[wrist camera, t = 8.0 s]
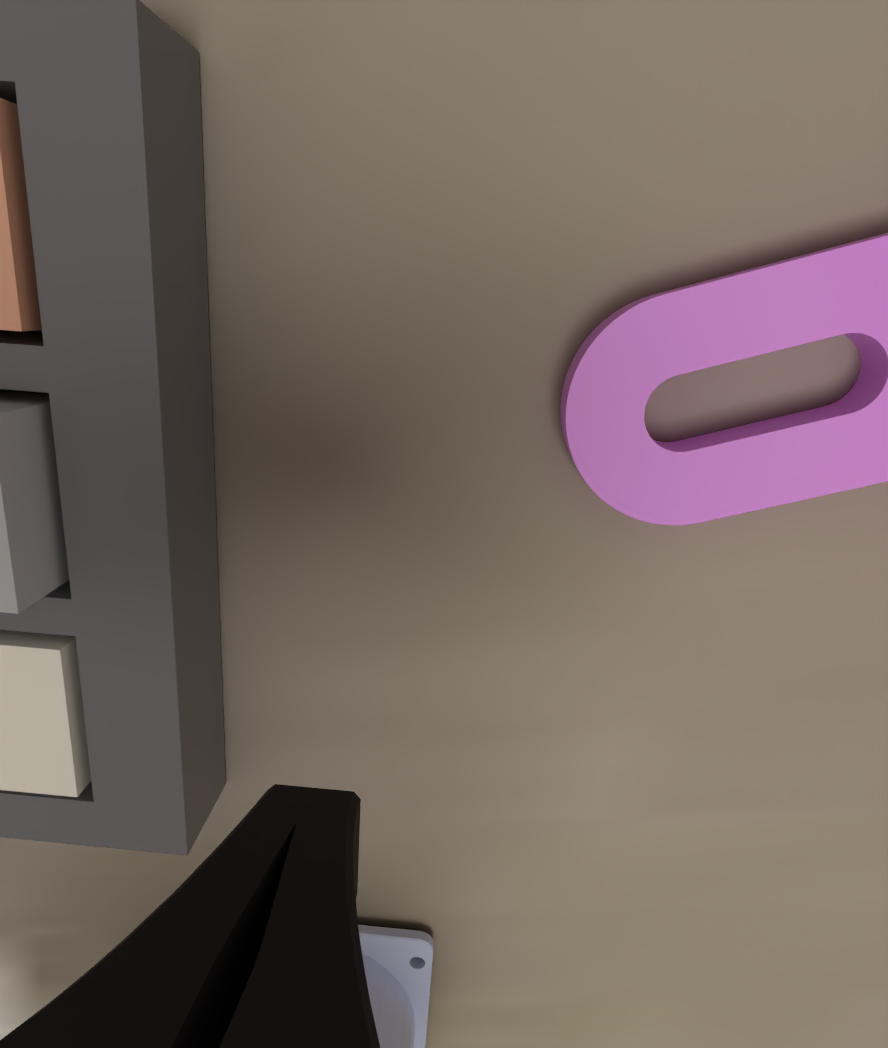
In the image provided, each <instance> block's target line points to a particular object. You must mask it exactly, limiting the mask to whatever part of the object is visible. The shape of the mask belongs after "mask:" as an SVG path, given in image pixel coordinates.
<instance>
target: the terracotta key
mask: <svg viewBox="0 0 888 1048" xmlns="http://www.w3.org/2000/svg"><path fill="white" fill-rule="evenodd" d="M0 330H10V331H36V330H42V326H41V316H40V307H39V298H38V289H37V280H36V271H35V262H34V253H33V243H32V234H31V225H30V216H29V207H28V198H27V189H26V180H25V170H24V161H23V152H22V143H21V134H20V125H19V116H18V107H17V104H14V103H12V102H10V101H7V100H5V99H2V98H0Z"/></svg>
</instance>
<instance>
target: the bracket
mask: <svg viewBox="0 0 888 1048" xmlns="http://www.w3.org/2000/svg"><path fill="white" fill-rule="evenodd" d="M841 334H844V335H846V336H847V337H849V338H850V339H851V340H852V341H853V342H854V343H855V345H856V347H857V349H858V351H859V354H860V360H861V367H860V372H859V376H858V378H857V380H856V383H855V384H854V386H853V387H852V389H851V390H850V391H849V392H848V393H847V394H846V395H845V396H844V397H843V398H841V399H840V400H838V401H837V402H835V403H832V404H830V405H827V406H823V407H819V408H814V409H810V410H806V411H802V412H798V413H793V414H789V415H785V416H781V417H776V418H772V419H768V420H764V421H759V422H755V423H751V424H747V425H742V426H738V427H734V428H730V429H726V430H721V431H717V432H713V433H709V434H704V435H700V436H696V437H692V438H687V439H683V440H679V441H674V442H660V441H656V440H654V439H652V438H651V437H650V436H649V434H648V432H647V430H646V426H645V422H644V412H645V407H646V403H647V401H648V399H649V397H650V395H651V394H652V392H653V391H654V390H655V389H656V388H657V386H659V385H660V384H661V383H662V382H664V381H665V380H667V379H669V378H671V377H673V376H677V375H680V374H684V373H688V372H692V371H696V370H700V369H704V368H708V367H713V366H717V365H721V364H725V363H729V362H733V361H737V360H741V359H745V358H749V357H753V356H757V355H761V354H765V353H769V352H773V351H777V350H781V349H785V348H789V347H793V346H797V345H801V344H805V343H809V342H813V341H817V340H821V339H825V338H829V337H833V336H837V335H841ZM560 417H561V427H562V432H563V437H564V440H565V443H566V446H567V449H568V451H569V453H570V456H571V458H572V460H573V462H574V463H575V465H576V467H577V469H578V470H579V472H580V474H581V475H582V477H583V479H584V480H585V481H586V483H587V484H588V485H589V487H590V488H591V489H592V490H593V491H594V492H595V493H596V494H597V495H598V496H599V497H600V498H601V499H602V500H603V501H605V502H606V503H607V504H608V505H610V506H611V507H613V508H615V509H616V510H618V511H620V512H622V513H624V514H626V515H628V516H630V517H633V518H635V519H638V520H641V521H645V522H649V523H654V524H662V525H687V524H694V523H700V522H705V521H709V520H714V519H718V518H723V517H727V516H732V515H737V514H741V513H746V512H750V511H755V510H759V509H764V508H768V507H773V506H778V505H782V504H787V503H791V502H796V501H800V500H805V499H809V498H814V497H818V496H823V495H828V494H832V493H837V492H841V491H846V490H850V489H855V488H859V487H864V486H869V485H873V484H878V483H882V482H887V481H888V233H884V234H880V235H877V236H873V237H869V238H865V239H861V240H858V241H854V242H850V243H846V244H843V245H839V246H835V247H831V248H827V249H824V250H820V251H816V252H812V253H808V254H805V255H801V256H797V257H793V258H790V259H786V260H782V261H778V262H774V263H771V264H767V265H763V266H759V267H756V268H752V269H748V270H744V271H740V272H737V273H733V274H729V275H725V276H721V277H718V278H714V279H710V280H706V281H703V282H699V283H695V284H691V285H687V286H684V287H680V288H676V289H672V290H669V291H665V292H661V293H657V294H653V295H650V296H647V297H644V298H641V299H638V300H636V301H634V302H632V303H629V304H627V305H626V306H624V307H622V308H620V309H619V310H617V311H615V312H614V313H613V314H611V315H610V316H609V317H607V318H606V319H605V320H604V321H602V322H601V323H600V324H599V325H598V326H597V327H596V328H595V329H594V330H593V331H592V332H591V333H590V334H589V336H588V337H587V338H586V339H585V341H584V342H583V343H582V345H581V346H580V348H579V349H578V351H577V353H576V354H575V356H574V358H573V360H572V362H571V364H570V367H569V369H568V372H567V375H566V377H565V381H564V385H563V389H562V395H561V403H560Z"/></svg>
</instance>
